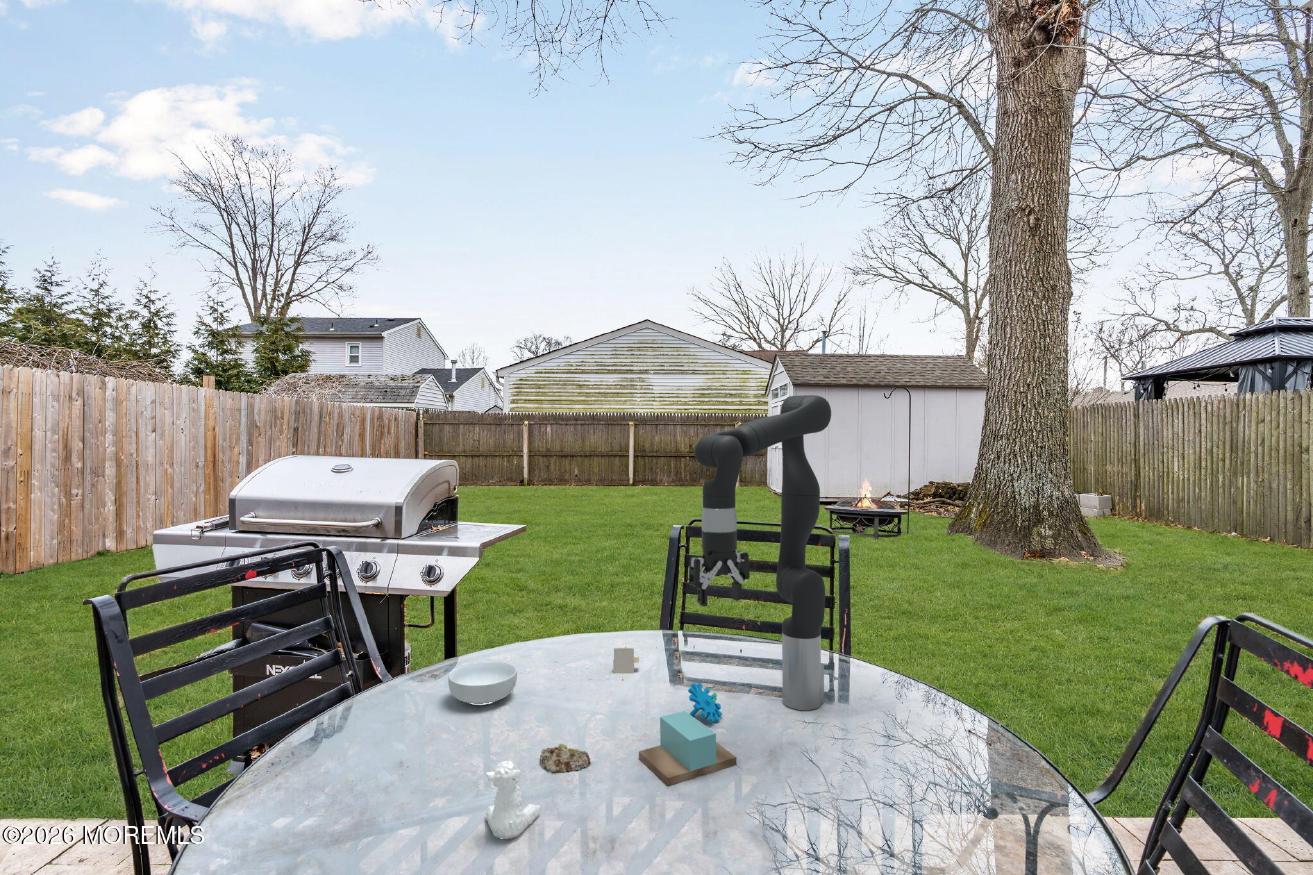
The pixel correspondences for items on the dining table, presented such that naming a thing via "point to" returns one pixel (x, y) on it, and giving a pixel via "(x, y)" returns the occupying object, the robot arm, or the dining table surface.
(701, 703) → the blue lumpy branched piece
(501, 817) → the white creature statuette
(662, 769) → the base plate
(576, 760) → the mineral rock
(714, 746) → the teal rectangular block
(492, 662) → the cereal bowl
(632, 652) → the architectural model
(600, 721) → the dining table surface
